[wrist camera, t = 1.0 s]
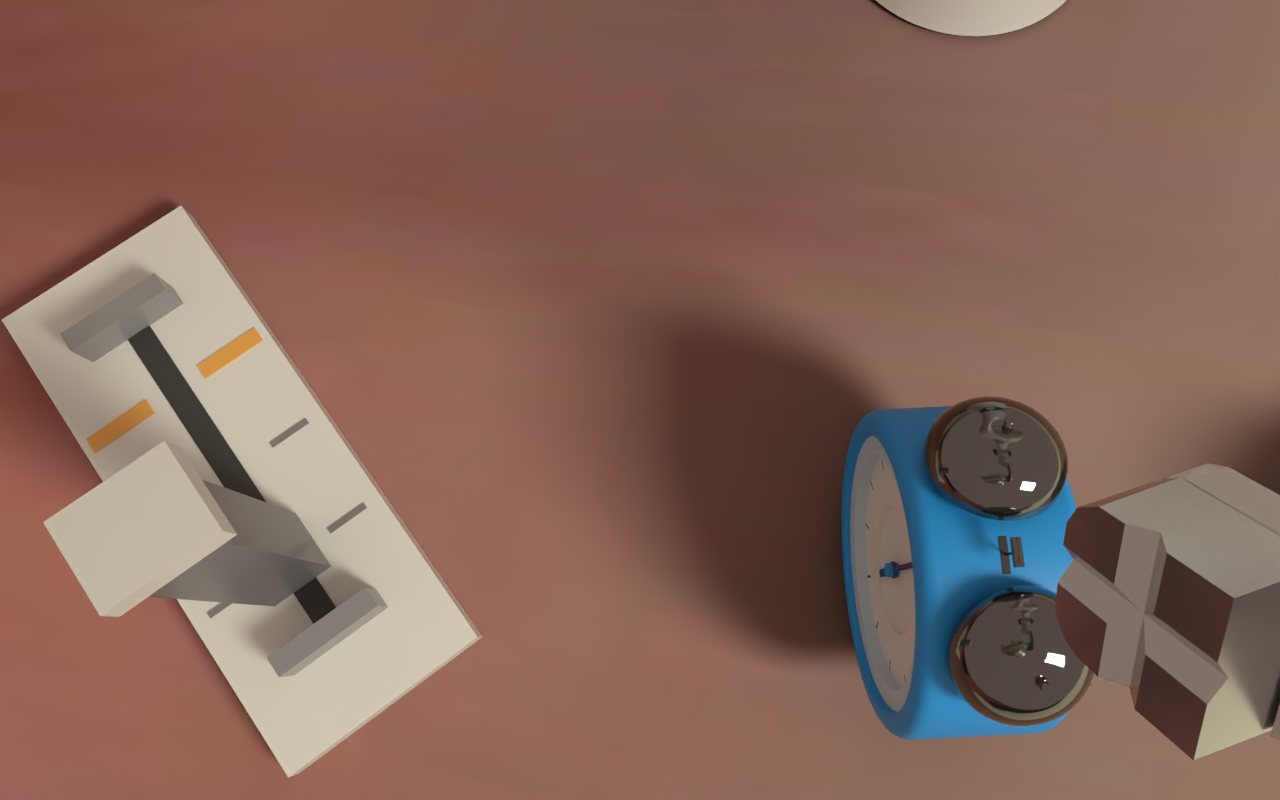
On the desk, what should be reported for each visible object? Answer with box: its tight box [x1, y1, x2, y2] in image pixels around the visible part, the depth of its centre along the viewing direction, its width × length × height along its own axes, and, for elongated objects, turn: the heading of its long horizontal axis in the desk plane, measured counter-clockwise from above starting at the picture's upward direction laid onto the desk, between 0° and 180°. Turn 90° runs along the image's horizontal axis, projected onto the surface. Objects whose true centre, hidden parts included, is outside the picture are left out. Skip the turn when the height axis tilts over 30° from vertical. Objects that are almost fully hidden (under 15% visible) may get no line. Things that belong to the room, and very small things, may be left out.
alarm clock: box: [841, 396, 1094, 740], centre depth 40 cm, size 13×6×15 cm, turn 3°
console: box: [2, 206, 482, 778], centre depth 46 cm, size 26×10×4 cm, turn 37°
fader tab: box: [43, 441, 331, 617], centre depth 38 cm, size 4×4×14 cm
